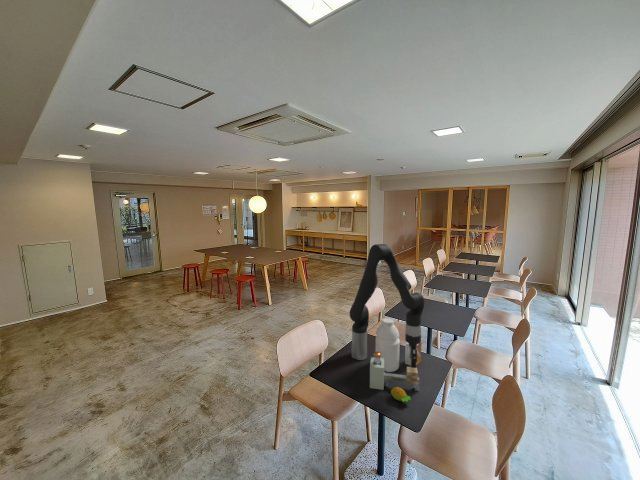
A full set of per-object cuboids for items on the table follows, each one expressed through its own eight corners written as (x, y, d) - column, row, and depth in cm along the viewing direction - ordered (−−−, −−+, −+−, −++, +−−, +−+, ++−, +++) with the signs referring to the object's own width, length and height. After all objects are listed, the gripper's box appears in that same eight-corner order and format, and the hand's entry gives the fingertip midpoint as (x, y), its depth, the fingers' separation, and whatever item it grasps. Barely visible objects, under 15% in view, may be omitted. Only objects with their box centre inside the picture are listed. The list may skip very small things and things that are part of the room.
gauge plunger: (373, 371, 140) (373, 355, 139) (373, 366, 144) (373, 351, 143) (380, 372, 139) (381, 355, 138) (381, 367, 143) (381, 351, 142)
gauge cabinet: (369, 387, 139) (369, 366, 137) (371, 377, 147) (371, 356, 146) (383, 390, 137) (383, 368, 136) (384, 379, 146) (384, 358, 144)
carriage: (407, 383, 136) (407, 372, 135) (406, 377, 140) (406, 366, 139) (417, 384, 134) (417, 373, 134) (416, 378, 139) (416, 367, 138)
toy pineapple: (396, 391, 136) (397, 381, 135) (413, 403, 128) (413, 392, 127) (387, 397, 132) (387, 387, 131) (404, 409, 124) (404, 398, 123)
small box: (414, 368, 155) (415, 346, 154) (404, 363, 160) (405, 343, 158) (421, 362, 161) (421, 341, 159) (411, 358, 165) (411, 338, 164)
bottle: (397, 359, 164) (397, 315, 161) (401, 373, 151) (402, 325, 147) (373, 358, 166) (374, 315, 162) (376, 371, 152) (376, 325, 149)
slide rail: (383, 385, 140) (383, 375, 139) (383, 382, 143) (384, 372, 142) (419, 391, 136) (419, 380, 135) (418, 388, 138) (418, 377, 137)
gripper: (404, 325, 142) (404, 354, 144) (406, 338, 128) (405, 369, 130) (419, 326, 140) (419, 355, 142) (422, 339, 126) (422, 371, 128)
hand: (412, 362), depth 136 cm, fingers open, 8 cm apart
